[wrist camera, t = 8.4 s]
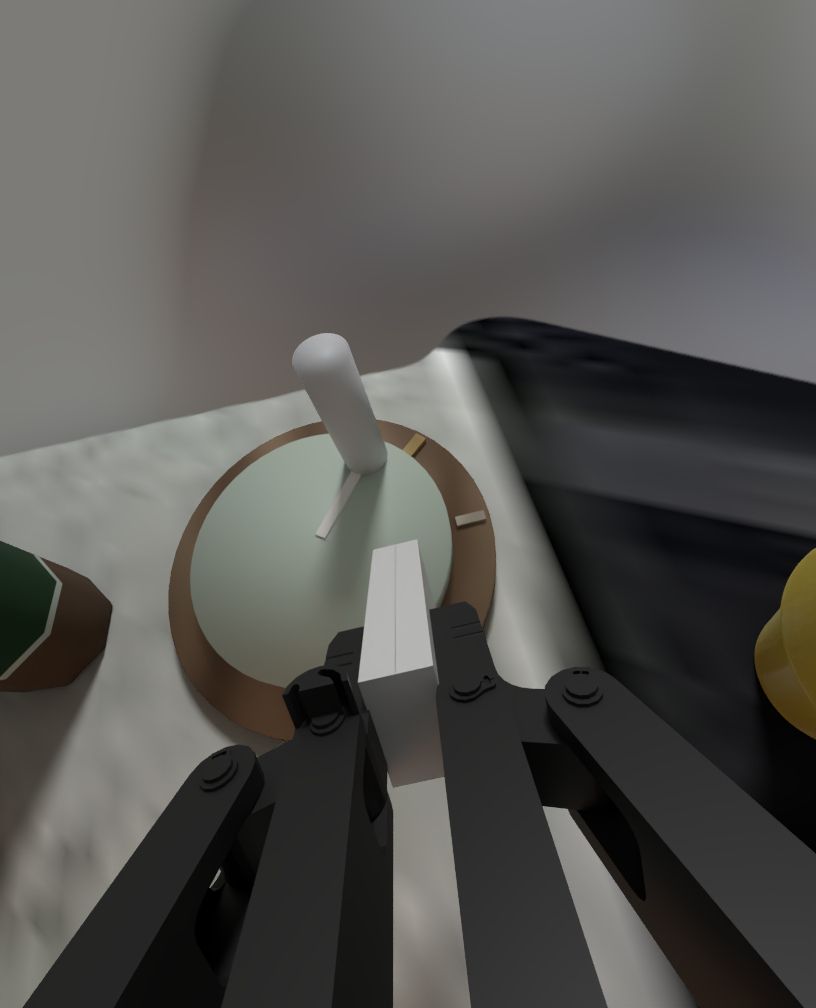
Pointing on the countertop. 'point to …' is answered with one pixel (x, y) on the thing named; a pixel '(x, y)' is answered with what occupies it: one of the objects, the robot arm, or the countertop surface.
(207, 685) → the walnut base
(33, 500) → the countertop surface
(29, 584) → the beer bottle
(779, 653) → the plant pot
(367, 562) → the capstan dial
